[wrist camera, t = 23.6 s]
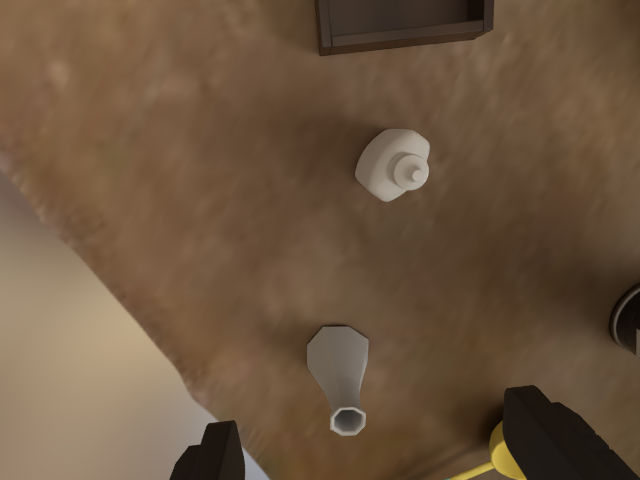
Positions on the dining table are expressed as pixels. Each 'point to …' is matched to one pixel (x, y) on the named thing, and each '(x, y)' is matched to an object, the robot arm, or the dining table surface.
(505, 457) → the ladle
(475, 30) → the tray
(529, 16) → the dining table surface
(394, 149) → the eye dropper bottle
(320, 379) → the flask
